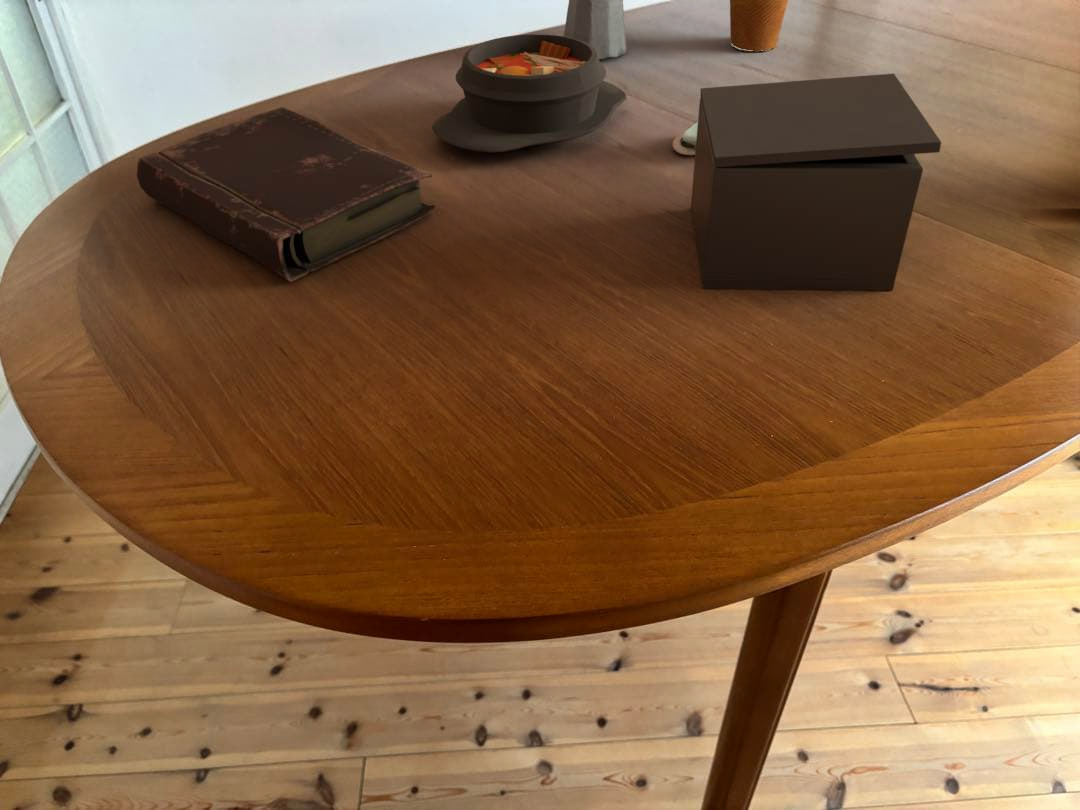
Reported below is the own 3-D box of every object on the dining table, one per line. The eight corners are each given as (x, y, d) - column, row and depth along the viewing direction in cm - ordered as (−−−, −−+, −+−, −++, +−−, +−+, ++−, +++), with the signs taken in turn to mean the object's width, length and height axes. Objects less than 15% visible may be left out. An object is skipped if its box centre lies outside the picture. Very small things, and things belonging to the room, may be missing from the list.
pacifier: (664, 158, 100) (718, 164, 98) (666, 101, 96) (722, 106, 94) (682, 133, 105) (734, 138, 103) (685, 78, 101) (739, 82, 99)
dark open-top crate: (856, 209, 89) (879, 97, 82) (892, 290, 78) (923, 168, 71) (690, 208, 90) (699, 98, 83) (702, 288, 79) (714, 168, 72)
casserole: (550, 80, 119) (549, 12, 114) (662, 116, 109) (666, 43, 103) (398, 138, 106) (389, 64, 100) (510, 185, 95) (506, 106, 90)
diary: (283, 288, 80) (271, 237, 77) (145, 204, 94) (129, 157, 91) (442, 213, 91) (437, 165, 87) (296, 147, 104) (287, 103, 101)
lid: (892, 82, 81) (894, 73, 81) (939, 152, 70) (941, 141, 69) (700, 97, 83) (700, 88, 83) (714, 167, 72) (715, 157, 71)
